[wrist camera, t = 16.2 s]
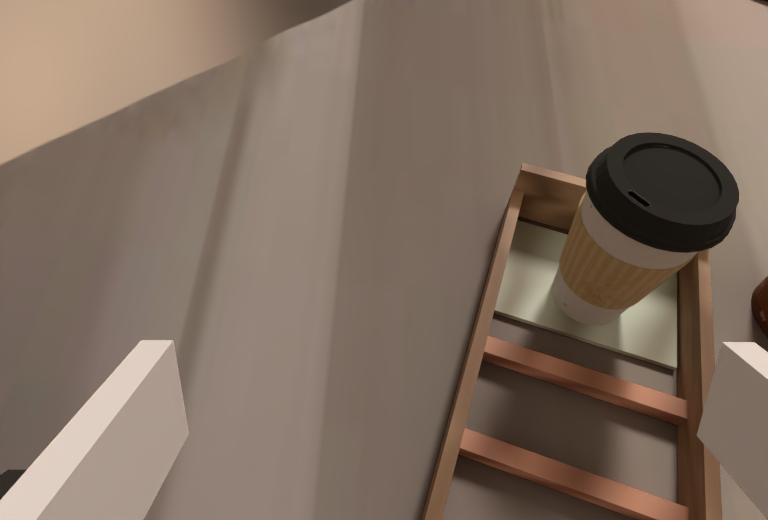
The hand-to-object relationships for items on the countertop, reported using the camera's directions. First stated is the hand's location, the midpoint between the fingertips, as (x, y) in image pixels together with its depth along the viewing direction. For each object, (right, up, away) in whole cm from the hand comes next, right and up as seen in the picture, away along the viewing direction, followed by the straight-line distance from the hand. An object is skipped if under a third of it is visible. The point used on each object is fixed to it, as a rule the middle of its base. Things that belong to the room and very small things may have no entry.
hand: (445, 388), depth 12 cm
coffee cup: (+17, 0, +33) cm, 37 cm away
